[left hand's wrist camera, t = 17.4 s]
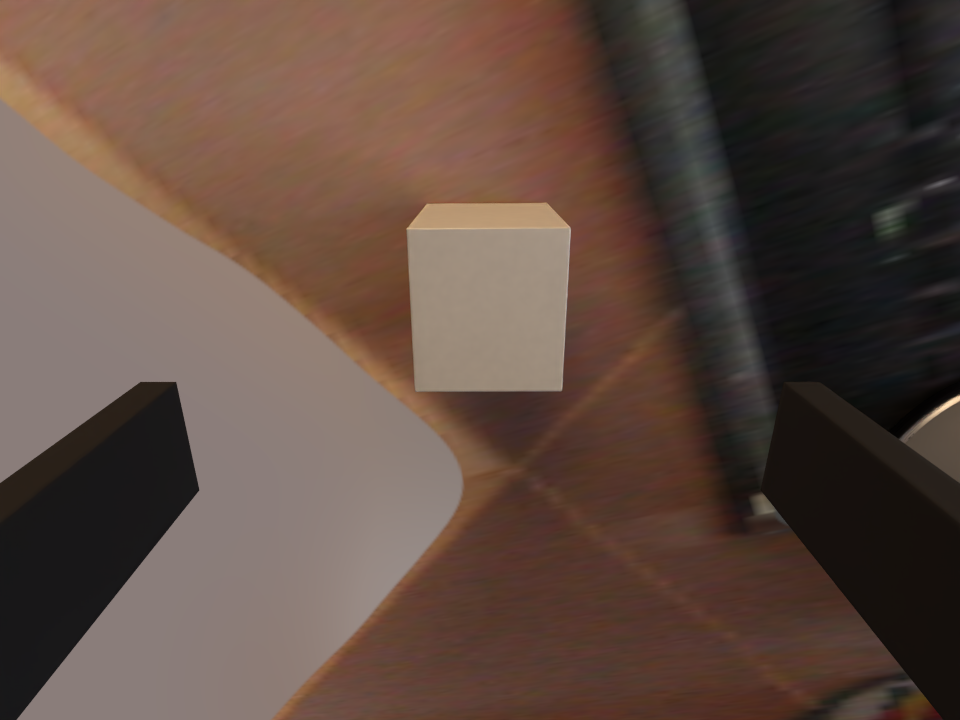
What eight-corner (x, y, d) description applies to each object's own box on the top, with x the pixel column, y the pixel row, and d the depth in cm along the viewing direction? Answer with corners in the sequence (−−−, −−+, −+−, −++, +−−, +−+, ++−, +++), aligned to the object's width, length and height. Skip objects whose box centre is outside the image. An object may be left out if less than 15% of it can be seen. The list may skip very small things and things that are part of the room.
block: (431, 329, 31) (414, 392, 23) (426, 203, 28) (406, 228, 21) (542, 328, 30) (562, 391, 23) (547, 202, 28) (571, 227, 21)
